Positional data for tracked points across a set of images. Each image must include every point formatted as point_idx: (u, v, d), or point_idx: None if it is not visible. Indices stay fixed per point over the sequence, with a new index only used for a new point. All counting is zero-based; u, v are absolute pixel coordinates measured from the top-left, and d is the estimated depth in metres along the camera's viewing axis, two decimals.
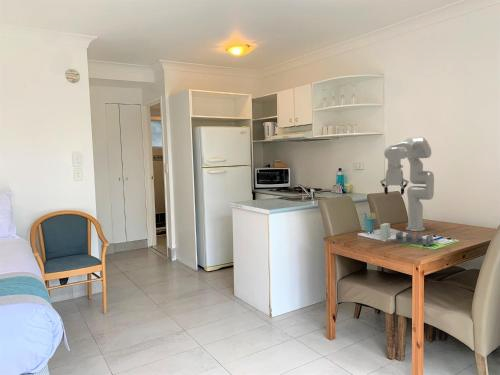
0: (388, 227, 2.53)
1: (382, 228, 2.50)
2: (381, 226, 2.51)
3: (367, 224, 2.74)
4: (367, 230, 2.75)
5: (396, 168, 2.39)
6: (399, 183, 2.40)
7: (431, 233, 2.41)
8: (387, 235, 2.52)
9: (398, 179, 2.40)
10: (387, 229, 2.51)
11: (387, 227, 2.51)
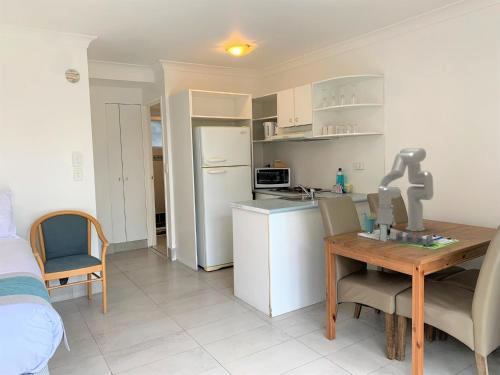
0: None
1: (382, 228, 2.50)
2: (381, 226, 2.51)
3: (367, 224, 2.74)
4: (367, 230, 2.75)
5: (387, 208, 2.48)
6: (390, 222, 2.49)
7: (431, 233, 2.41)
8: (387, 235, 2.52)
9: (389, 219, 2.49)
10: None
11: (387, 227, 2.51)
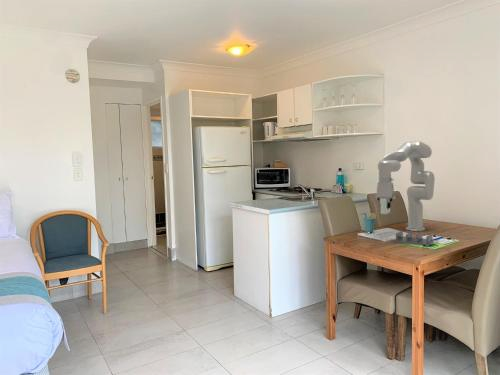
0: None
1: (382, 201, 2.49)
2: (381, 199, 2.49)
3: (367, 224, 2.74)
4: (367, 230, 2.75)
5: (387, 181, 2.47)
6: (390, 196, 2.48)
7: (431, 233, 2.41)
8: (387, 209, 2.50)
9: (389, 192, 2.48)
10: (387, 202, 2.50)
11: (387, 200, 2.50)
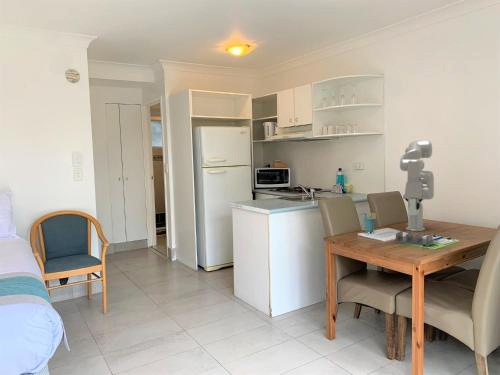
0: None
1: (411, 202, 2.38)
2: (410, 200, 2.38)
3: (367, 224, 2.74)
4: (367, 230, 2.75)
5: (416, 181, 2.36)
6: (419, 196, 2.37)
7: (431, 233, 2.41)
8: (416, 210, 2.39)
9: (418, 192, 2.37)
10: None
11: (416, 201, 2.39)
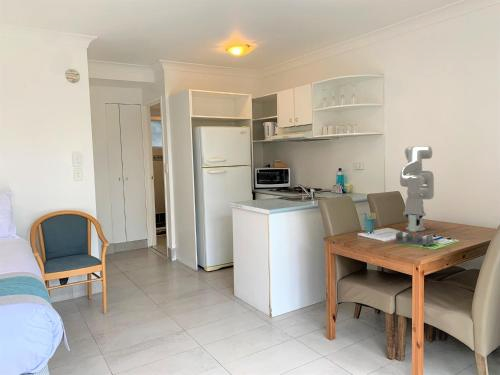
0: None
1: (411, 218, 2.38)
2: (410, 216, 2.39)
3: (367, 224, 2.74)
4: (367, 230, 2.75)
5: (416, 197, 2.37)
6: (419, 212, 2.37)
7: (431, 233, 2.41)
8: (416, 226, 2.40)
9: (418, 208, 2.37)
10: (416, 219, 2.40)
11: (416, 217, 2.40)
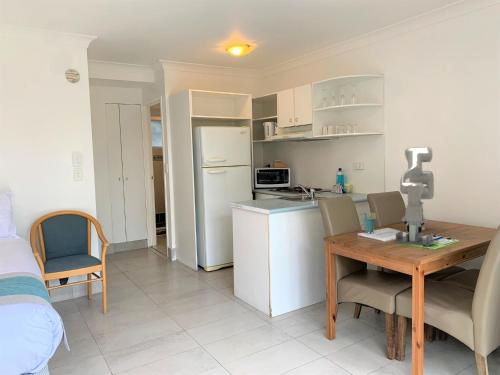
0: (417, 227, 2.42)
1: (411, 228, 2.39)
2: (410, 226, 2.40)
3: (367, 224, 2.74)
4: (367, 230, 2.75)
5: (416, 205, 2.37)
6: (419, 220, 2.38)
7: (431, 233, 2.41)
8: None
9: (418, 216, 2.38)
10: (416, 229, 2.40)
11: (416, 227, 2.40)
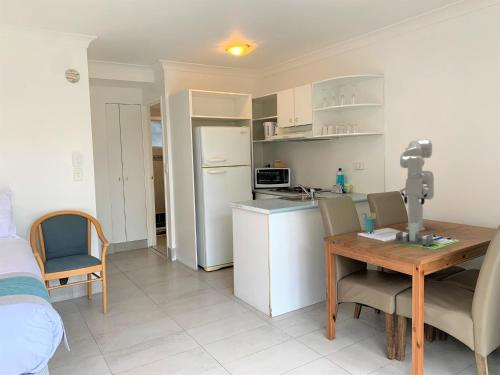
0: (417, 227, 2.42)
1: (411, 228, 2.39)
2: (410, 226, 2.40)
3: (367, 224, 2.74)
4: (367, 230, 2.75)
5: (416, 178, 2.36)
6: (419, 193, 2.36)
7: (431, 233, 2.41)
8: None
9: (418, 189, 2.36)
10: (416, 229, 2.40)
11: (416, 227, 2.40)
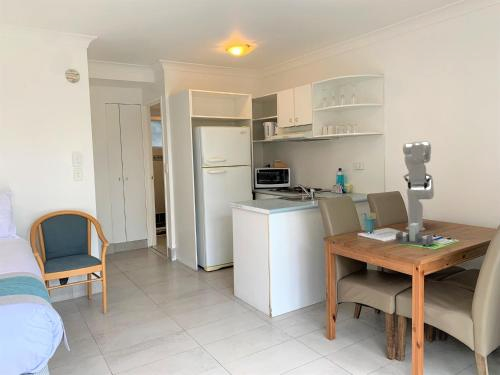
0: (417, 227, 2.42)
1: (411, 228, 2.39)
2: (410, 226, 2.40)
3: (367, 224, 2.74)
4: (367, 230, 2.75)
5: (419, 163, 2.48)
6: (422, 178, 2.49)
7: (431, 233, 2.41)
8: None
9: (421, 174, 2.49)
10: (416, 229, 2.40)
11: (416, 227, 2.40)
